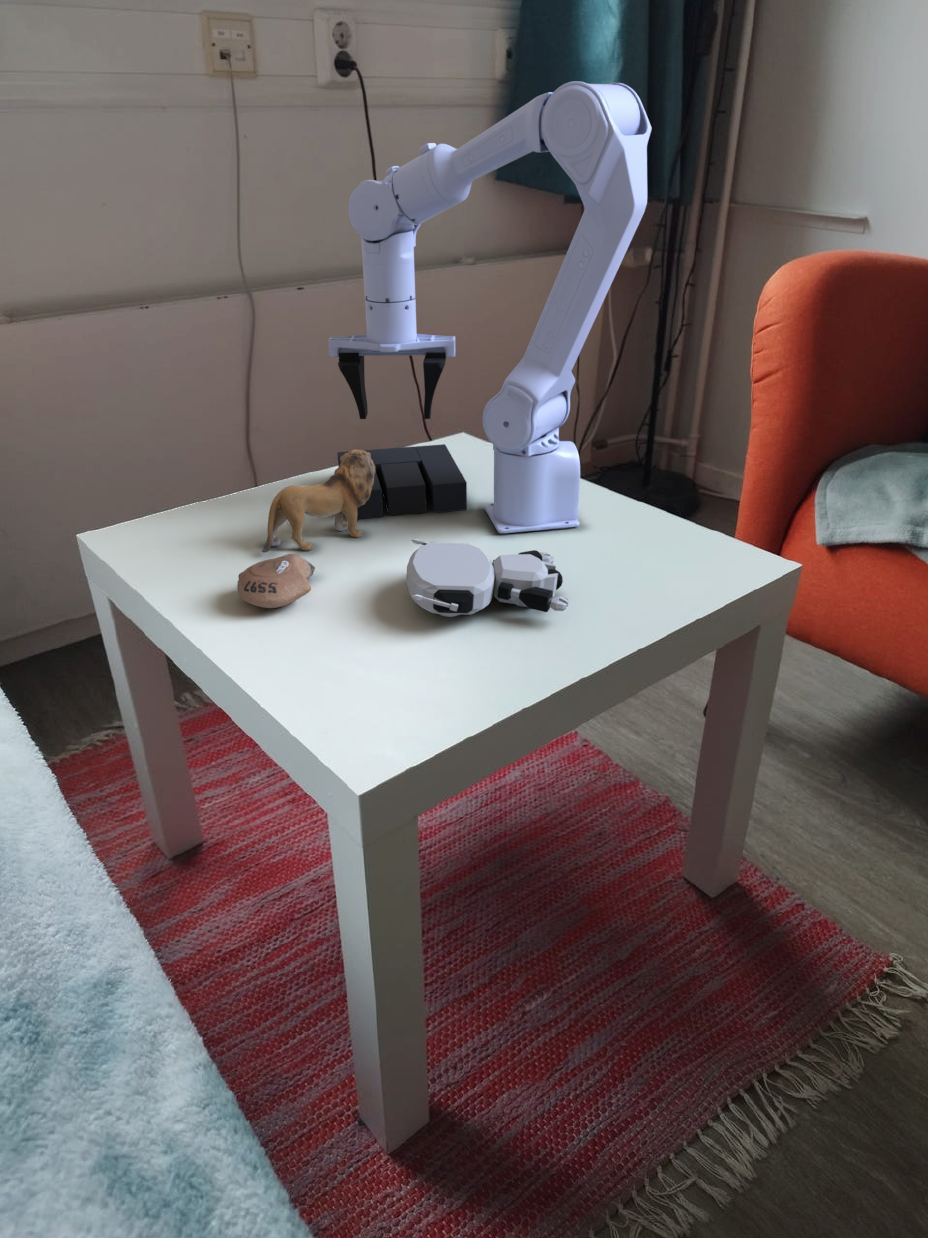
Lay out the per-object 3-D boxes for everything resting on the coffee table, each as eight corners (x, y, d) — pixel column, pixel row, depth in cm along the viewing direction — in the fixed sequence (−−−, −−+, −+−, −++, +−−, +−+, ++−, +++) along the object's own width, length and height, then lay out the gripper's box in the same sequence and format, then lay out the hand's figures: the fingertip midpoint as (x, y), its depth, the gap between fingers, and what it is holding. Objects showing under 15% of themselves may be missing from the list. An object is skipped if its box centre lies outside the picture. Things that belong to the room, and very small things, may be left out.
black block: (417, 488, 113) (416, 461, 112) (426, 512, 107) (425, 484, 105) (381, 490, 113) (380, 464, 111) (388, 515, 106) (387, 487, 104)
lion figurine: (362, 514, 106) (357, 440, 102) (389, 528, 103) (385, 452, 98) (251, 549, 98) (240, 471, 94) (276, 566, 95) (266, 485, 90)
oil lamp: (339, 608, 88) (308, 577, 94) (340, 570, 86) (309, 541, 92) (249, 621, 84) (223, 588, 90) (249, 582, 82) (223, 550, 88)
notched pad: (445, 469, 119) (445, 443, 117) (466, 509, 107) (466, 482, 105) (339, 477, 117) (337, 451, 115) (349, 520, 105) (346, 491, 103)
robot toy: (550, 577, 94) (405, 572, 92) (555, 537, 91) (406, 532, 90) (569, 637, 83) (405, 633, 82) (575, 594, 81) (407, 589, 79)
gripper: (320, 305, 98) (330, 426, 105) (453, 304, 98) (455, 426, 105) (330, 293, 104) (339, 409, 111) (455, 292, 104) (456, 408, 111)
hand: (395, 416), depth 108 cm, fingers open, 7 cm apart
